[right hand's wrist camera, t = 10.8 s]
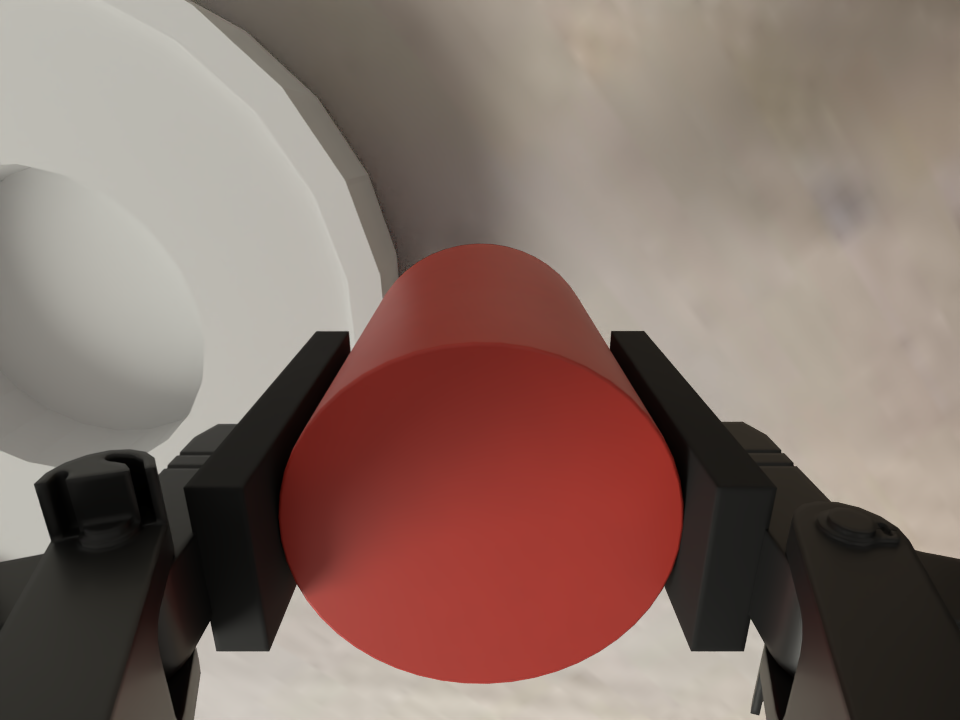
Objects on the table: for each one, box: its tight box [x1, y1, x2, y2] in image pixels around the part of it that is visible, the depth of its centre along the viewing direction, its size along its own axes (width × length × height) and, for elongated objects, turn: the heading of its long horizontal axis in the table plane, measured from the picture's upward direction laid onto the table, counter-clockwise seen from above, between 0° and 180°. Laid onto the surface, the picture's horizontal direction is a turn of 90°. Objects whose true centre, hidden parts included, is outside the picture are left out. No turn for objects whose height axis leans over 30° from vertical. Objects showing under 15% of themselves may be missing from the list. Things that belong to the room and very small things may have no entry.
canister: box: [278, 244, 684, 684], centre depth 12 cm, size 6×6×8 cm
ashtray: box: [0, 0, 399, 562], centre depth 21 cm, size 23×23×4 cm
